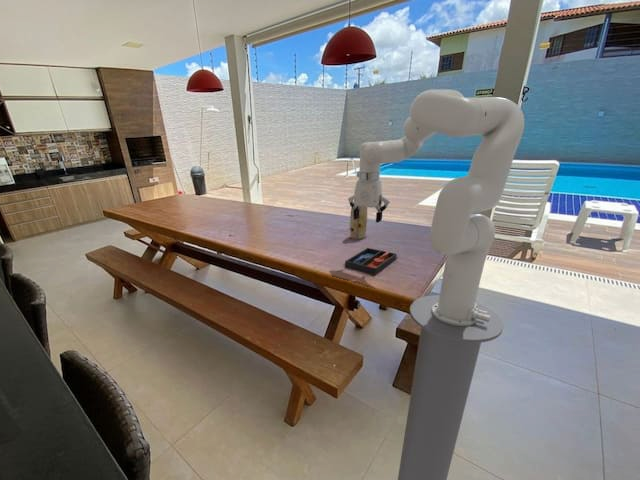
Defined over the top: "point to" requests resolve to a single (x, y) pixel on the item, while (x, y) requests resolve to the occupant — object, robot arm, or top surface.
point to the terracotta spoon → (381, 259)
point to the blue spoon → (361, 258)
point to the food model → (358, 223)
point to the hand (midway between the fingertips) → (367, 220)
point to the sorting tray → (370, 261)
